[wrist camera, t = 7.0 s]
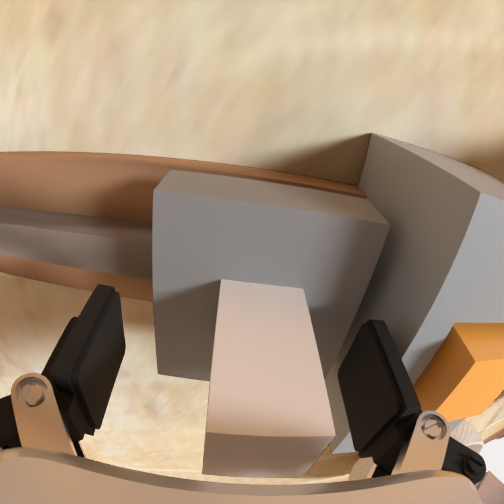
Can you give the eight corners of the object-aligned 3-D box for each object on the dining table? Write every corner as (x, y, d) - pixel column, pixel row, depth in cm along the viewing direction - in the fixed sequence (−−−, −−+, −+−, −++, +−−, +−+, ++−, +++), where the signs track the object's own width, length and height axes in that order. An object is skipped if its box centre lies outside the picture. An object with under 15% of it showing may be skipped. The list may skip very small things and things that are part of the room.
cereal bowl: (359, 472, 37) (367, 511, 31) (322, 439, 30) (330, 495, 24) (464, 426, 33) (479, 464, 27) (465, 374, 26) (491, 426, 20)
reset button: (431, 292, 12) (475, 361, 8) (489, 297, 12) (531, 354, 9) (394, 359, 14) (420, 427, 10) (452, 356, 14) (481, 413, 11)
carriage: (180, 158, 14) (65, 315, 4) (353, 184, 14) (483, 348, 5) (173, 314, 18) (134, 487, 9) (308, 328, 19) (340, 496, 10)
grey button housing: (371, 132, 15) (481, 192, 7) (479, 169, 15) (583, 237, 8) (306, 344, 22) (327, 458, 14) (401, 346, 23) (440, 441, 15)
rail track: (-24, 152, 14) (-58, 170, 11) (358, 186, 16) (382, 211, 13) (-7, 257, 18) (-32, 283, 15) (321, 305, 20) (332, 343, 17)
